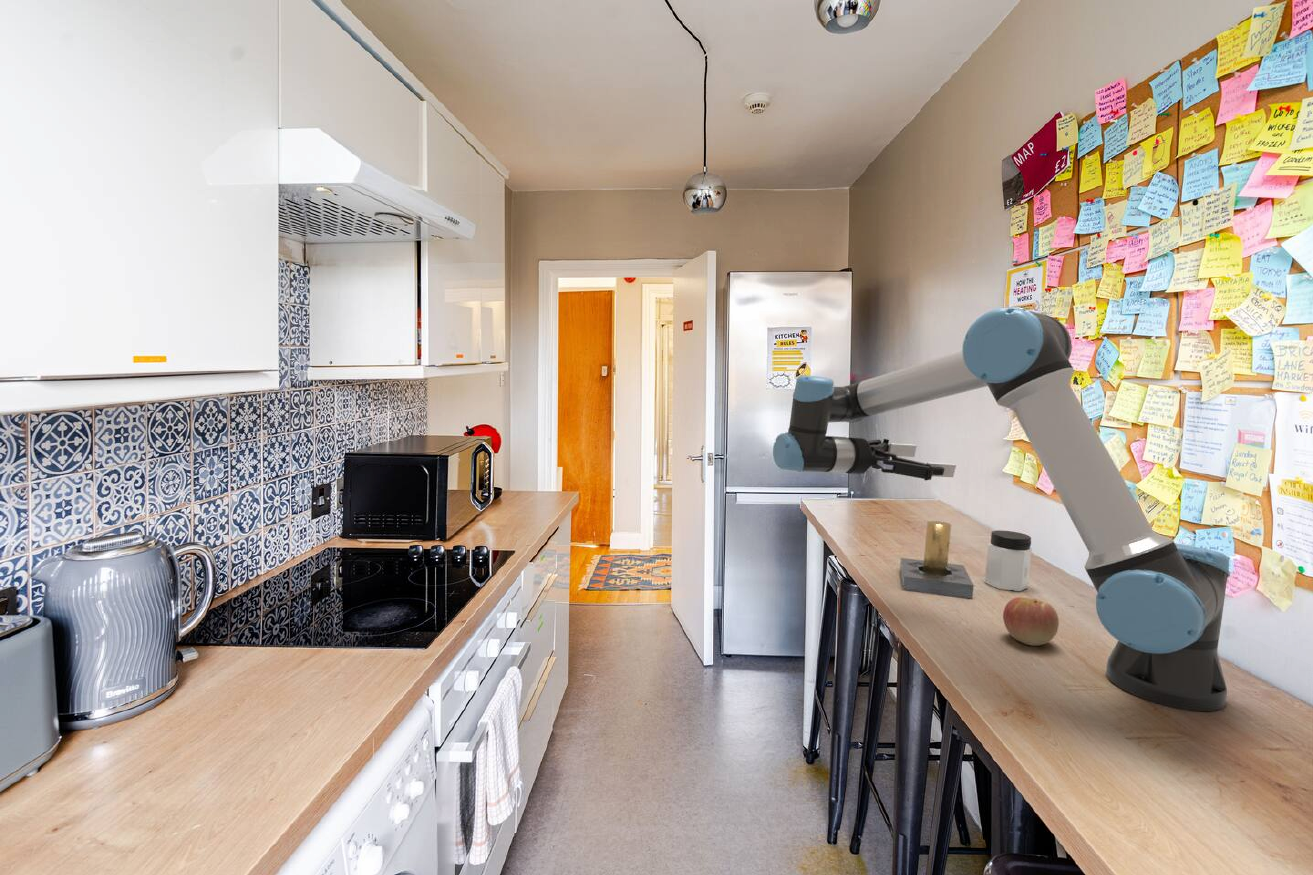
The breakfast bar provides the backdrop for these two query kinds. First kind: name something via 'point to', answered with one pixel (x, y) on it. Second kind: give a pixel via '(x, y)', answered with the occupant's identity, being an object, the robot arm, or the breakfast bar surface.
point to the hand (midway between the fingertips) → (933, 460)
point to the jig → (936, 579)
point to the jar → (1008, 560)
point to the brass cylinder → (937, 548)
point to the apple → (1030, 621)
